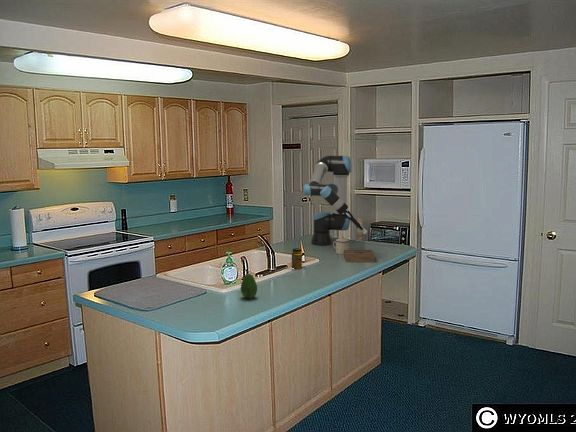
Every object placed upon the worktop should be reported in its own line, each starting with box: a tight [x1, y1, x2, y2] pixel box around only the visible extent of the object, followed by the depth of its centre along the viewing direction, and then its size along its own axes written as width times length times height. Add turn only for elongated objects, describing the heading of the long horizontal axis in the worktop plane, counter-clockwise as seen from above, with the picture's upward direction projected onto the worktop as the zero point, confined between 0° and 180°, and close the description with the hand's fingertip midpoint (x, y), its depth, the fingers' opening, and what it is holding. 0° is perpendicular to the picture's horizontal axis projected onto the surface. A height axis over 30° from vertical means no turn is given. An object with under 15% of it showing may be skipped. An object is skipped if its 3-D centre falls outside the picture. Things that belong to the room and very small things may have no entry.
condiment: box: [291, 247, 305, 271], centre depth 306 cm, size 7×8×12 cm
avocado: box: [240, 273, 258, 299], centre depth 249 cm, size 8×8×12 cm
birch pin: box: [356, 217, 364, 240], centre depth 328 cm, size 4×4×13 cm
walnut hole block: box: [343, 249, 376, 263], centre depth 331 cm, size 16×18×4 cm
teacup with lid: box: [332, 235, 350, 255], centre depth 349 cm, size 12×9×12 cm
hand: (365, 232), depth 329 cm, fingers closed on birch pin, 3 cm apart
